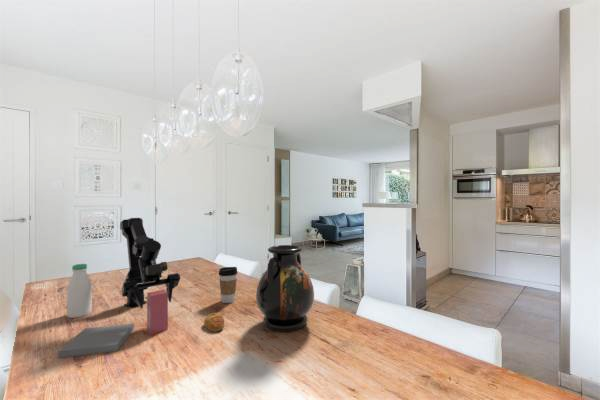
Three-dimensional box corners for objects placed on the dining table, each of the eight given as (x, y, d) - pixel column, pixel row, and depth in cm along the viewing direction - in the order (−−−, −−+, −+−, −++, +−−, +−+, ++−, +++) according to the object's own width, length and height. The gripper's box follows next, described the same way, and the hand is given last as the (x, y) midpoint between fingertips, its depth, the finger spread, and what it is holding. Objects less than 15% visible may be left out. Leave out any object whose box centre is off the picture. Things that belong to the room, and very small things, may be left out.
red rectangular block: (147, 330, 97) (147, 293, 97) (163, 325, 101) (163, 289, 101) (150, 334, 94) (150, 296, 94) (167, 329, 97) (167, 292, 97)
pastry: (228, 330, 97) (228, 319, 97) (209, 335, 93) (209, 324, 93) (220, 320, 105) (220, 310, 105) (202, 325, 101) (202, 314, 101)
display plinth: (84, 334, 94) (84, 328, 94) (134, 329, 98) (134, 323, 98) (58, 358, 79) (58, 351, 79) (117, 350, 83) (117, 344, 83)
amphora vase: (293, 343, 87) (292, 254, 88) (243, 326, 99) (243, 248, 99) (324, 319, 105) (324, 245, 106) (279, 307, 117) (279, 241, 117)
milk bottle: (95, 312, 113) (95, 263, 113) (73, 319, 106) (73, 267, 106) (84, 309, 116) (85, 262, 116) (62, 316, 109) (63, 265, 109)
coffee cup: (232, 304, 121) (232, 270, 121) (215, 303, 122) (215, 269, 123) (240, 298, 129) (240, 266, 129) (223, 297, 131) (223, 265, 131)
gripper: (123, 258, 96) (129, 298, 87) (178, 252, 108) (189, 286, 100) (119, 277, 102) (124, 316, 93) (172, 269, 114) (181, 302, 106)
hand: (156, 304), depth 98 cm, fingers open, 9 cm apart
